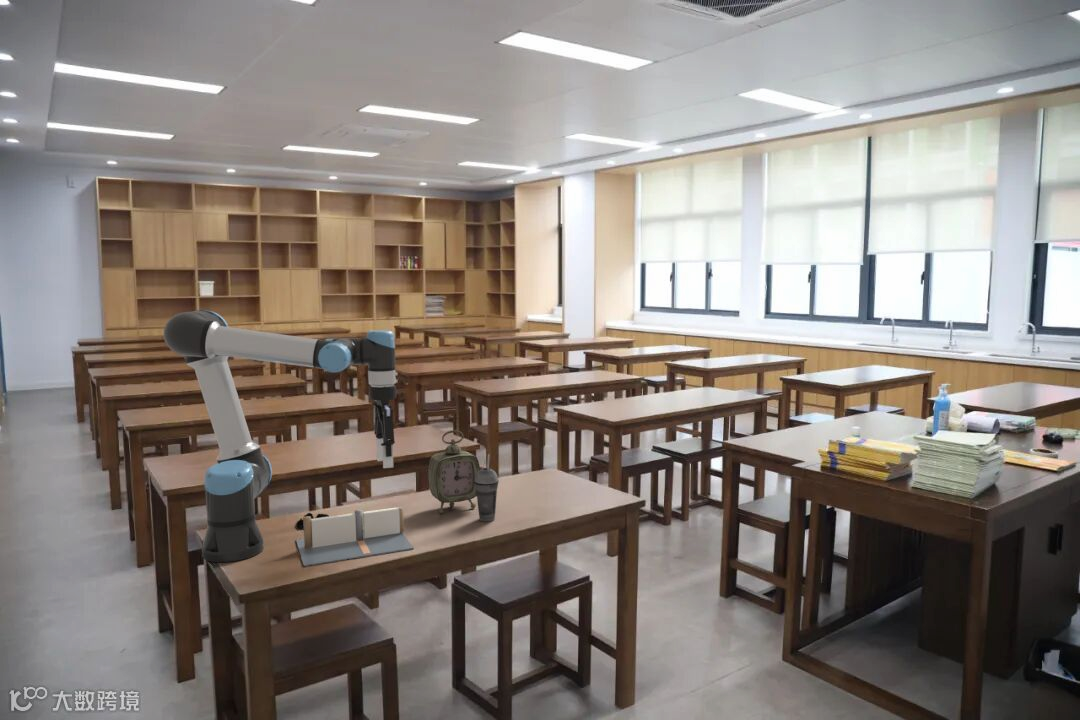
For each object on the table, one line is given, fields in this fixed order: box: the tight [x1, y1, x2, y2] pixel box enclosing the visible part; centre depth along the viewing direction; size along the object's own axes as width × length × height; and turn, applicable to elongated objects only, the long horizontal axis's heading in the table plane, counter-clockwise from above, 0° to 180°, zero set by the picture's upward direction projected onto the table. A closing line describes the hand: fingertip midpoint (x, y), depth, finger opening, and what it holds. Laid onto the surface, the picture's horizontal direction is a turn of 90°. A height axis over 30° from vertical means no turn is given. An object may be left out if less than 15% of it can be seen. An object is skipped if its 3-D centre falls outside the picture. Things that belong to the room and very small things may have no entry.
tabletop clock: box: [427, 430, 481, 514], centre depth 226 cm, size 14×9×25 cm, turn 117°
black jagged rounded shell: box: [295, 512, 330, 531], centre depth 214 cm, size 12×10×5 cm
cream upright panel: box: [362, 506, 405, 538], centre depth 203 cm, size 11×2×7 cm, turn 114°
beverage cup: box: [474, 453, 500, 522], centre depth 216 cm, size 7×7×20 cm
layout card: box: [295, 531, 414, 567], centre depth 197 cm, size 28×20×1 cm
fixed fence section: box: [302, 509, 363, 548], centre depth 197 cm, size 16×2×9 cm, turn 114°
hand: (385, 463), depth 208 cm, fingers open, 8 cm apart
